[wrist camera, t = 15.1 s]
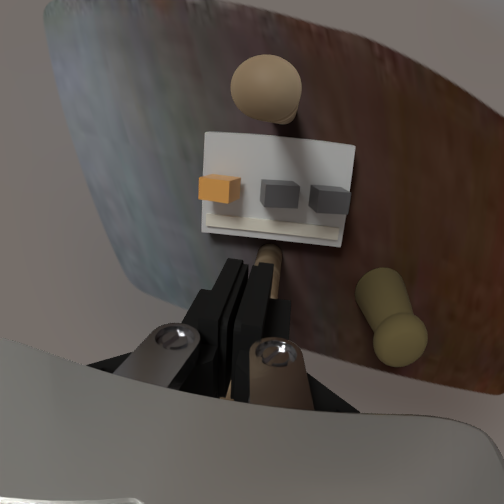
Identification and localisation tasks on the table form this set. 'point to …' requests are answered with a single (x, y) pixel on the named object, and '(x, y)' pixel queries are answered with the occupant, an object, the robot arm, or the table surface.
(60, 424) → the robot arm
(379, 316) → the cork
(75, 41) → the table surface
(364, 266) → the table surface
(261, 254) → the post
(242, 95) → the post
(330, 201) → the grey block
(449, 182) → the table surface
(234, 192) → the orange block
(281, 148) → the panel
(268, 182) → the grey block
